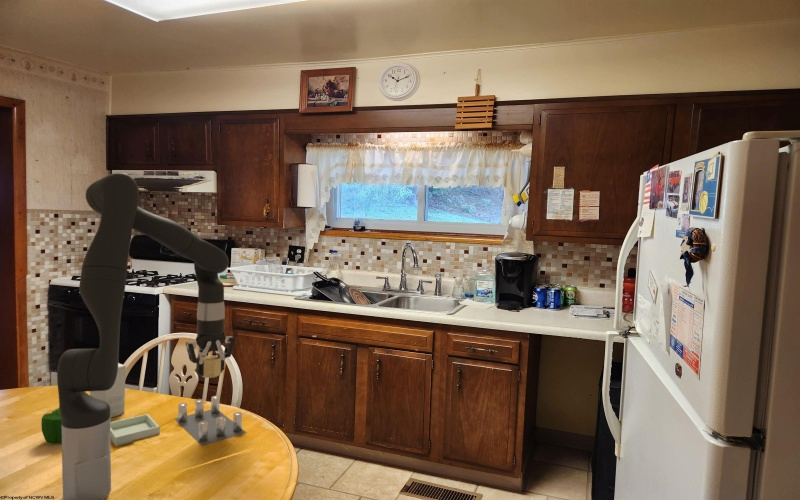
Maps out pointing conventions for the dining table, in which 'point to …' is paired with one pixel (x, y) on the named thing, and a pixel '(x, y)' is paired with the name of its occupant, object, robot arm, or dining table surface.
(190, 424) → the mat
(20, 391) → the dining table surface
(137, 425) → the sage parts tray
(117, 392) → the skincare box
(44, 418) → the bell pepper
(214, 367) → the yellow faceted hexagonal block
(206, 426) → the standing spacers
